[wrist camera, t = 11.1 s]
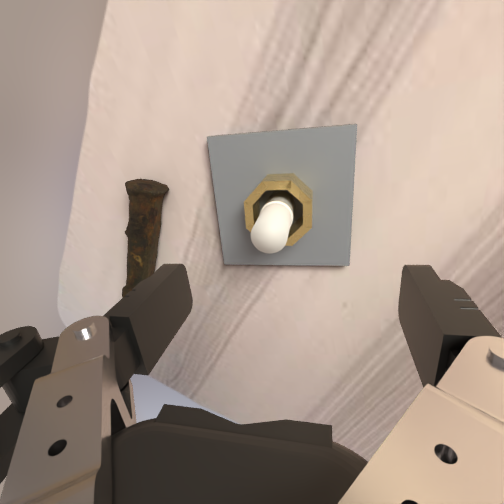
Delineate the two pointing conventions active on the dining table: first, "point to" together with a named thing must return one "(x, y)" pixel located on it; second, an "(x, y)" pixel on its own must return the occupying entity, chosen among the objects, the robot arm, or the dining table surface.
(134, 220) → the hand tool
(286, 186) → the ring
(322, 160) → the post base
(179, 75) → the dining table surface
